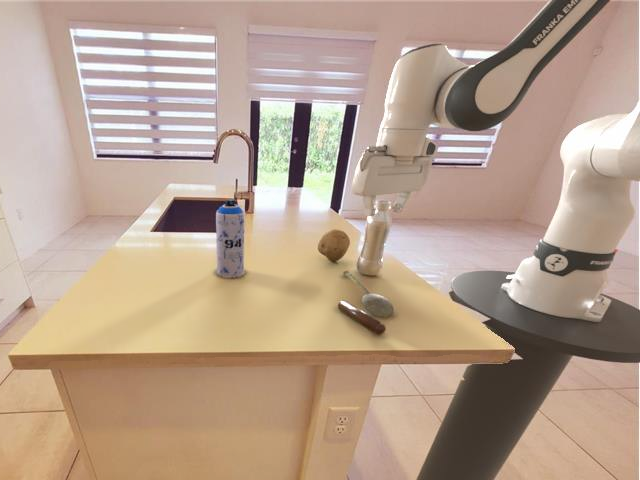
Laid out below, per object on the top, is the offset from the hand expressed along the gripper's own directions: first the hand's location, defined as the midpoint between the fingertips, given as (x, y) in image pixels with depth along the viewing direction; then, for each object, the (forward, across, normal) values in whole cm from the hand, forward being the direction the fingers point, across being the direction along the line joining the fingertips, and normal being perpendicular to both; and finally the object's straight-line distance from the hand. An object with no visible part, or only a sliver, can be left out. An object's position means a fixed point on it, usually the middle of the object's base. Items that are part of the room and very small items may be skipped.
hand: (383, 213), depth 70 cm
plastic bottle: (+19, +9, +7) cm, 23 cm away
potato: (+20, +7, +19) cm, 28 cm away
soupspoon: (+19, -2, -1) cm, 20 cm away
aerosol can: (+20, -25, +26) cm, 41 cm away
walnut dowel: (+19, -13, -10) cm, 25 cm away
